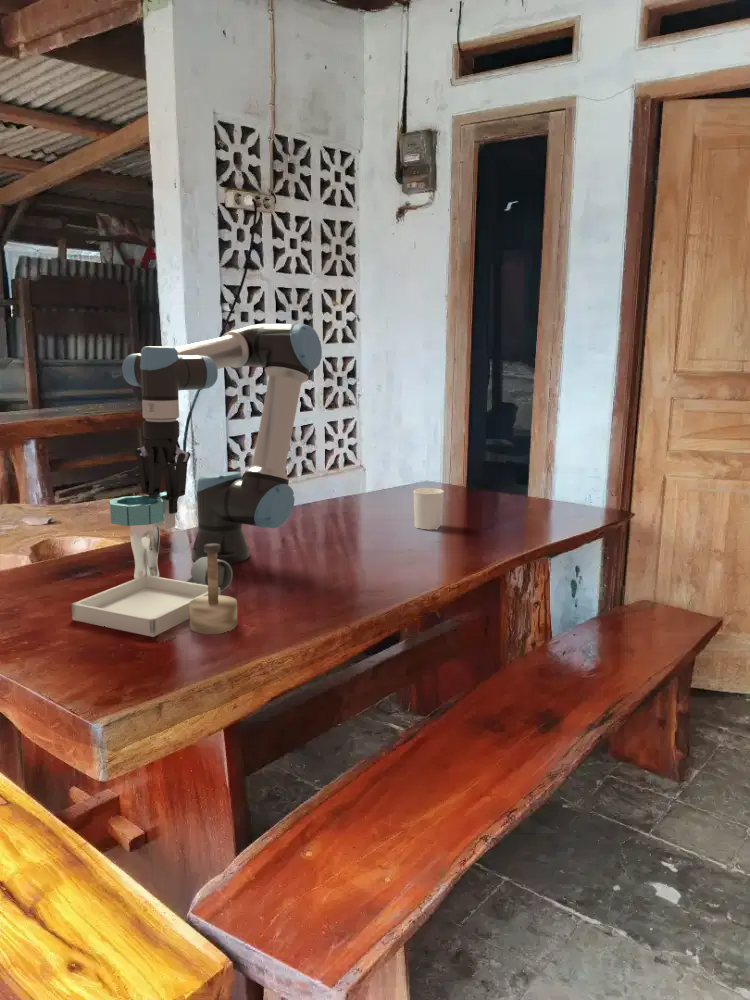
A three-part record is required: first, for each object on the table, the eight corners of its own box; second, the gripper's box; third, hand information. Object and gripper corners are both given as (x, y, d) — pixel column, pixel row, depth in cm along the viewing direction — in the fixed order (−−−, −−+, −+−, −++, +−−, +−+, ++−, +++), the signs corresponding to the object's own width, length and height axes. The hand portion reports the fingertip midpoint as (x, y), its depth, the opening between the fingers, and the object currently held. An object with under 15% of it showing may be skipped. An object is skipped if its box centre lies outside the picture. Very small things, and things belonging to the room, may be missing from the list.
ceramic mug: (216, 580, 189) (214, 550, 187) (233, 589, 183) (232, 558, 181) (176, 590, 182) (175, 559, 180) (193, 599, 176) (192, 567, 174)
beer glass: (167, 575, 192) (165, 517, 189) (146, 582, 186) (143, 522, 183) (147, 571, 195) (145, 513, 192) (125, 578, 189) (123, 518, 186)
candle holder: (441, 531, 243) (442, 494, 240) (410, 529, 244) (411, 492, 242) (443, 524, 252) (445, 488, 250) (413, 522, 254) (415, 487, 251)
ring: (140, 527, 154) (139, 508, 153) (99, 521, 158) (98, 502, 157) (191, 511, 169) (191, 494, 168) (153, 506, 173) (153, 489, 172)
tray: (145, 588, 182) (145, 574, 181) (220, 602, 173) (220, 587, 173) (72, 619, 161) (71, 603, 160) (153, 636, 153) (152, 620, 152)
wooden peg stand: (208, 614, 166) (206, 537, 162) (246, 621, 162) (245, 542, 158) (180, 629, 157) (177, 548, 154) (219, 637, 153) (218, 554, 150)
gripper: (120, 418, 164) (124, 526, 169) (179, 423, 158) (182, 534, 163) (143, 416, 171) (147, 519, 175) (201, 420, 165) (203, 527, 169)
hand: (164, 526), depth 169 cm, fingers closed on ring, 2 cm apart
